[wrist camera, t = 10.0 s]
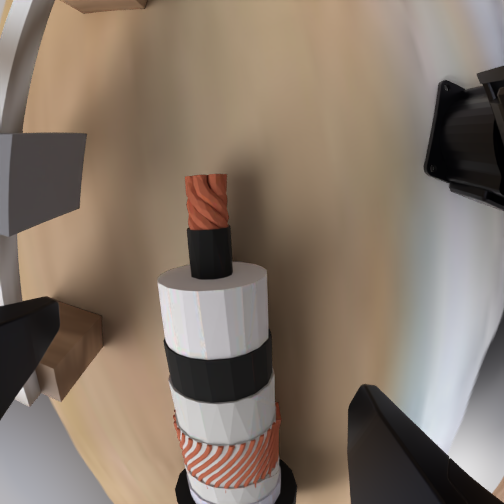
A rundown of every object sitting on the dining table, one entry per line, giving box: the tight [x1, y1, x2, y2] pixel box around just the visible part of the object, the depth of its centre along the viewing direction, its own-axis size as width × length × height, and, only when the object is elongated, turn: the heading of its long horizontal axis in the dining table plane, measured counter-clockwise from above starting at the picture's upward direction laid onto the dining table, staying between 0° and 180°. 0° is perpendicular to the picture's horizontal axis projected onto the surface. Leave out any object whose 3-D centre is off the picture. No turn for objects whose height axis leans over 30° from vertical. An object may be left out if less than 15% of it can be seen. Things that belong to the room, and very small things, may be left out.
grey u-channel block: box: [0, 131, 87, 237], centre depth 12 cm, size 4×6×6 cm, turn 79°
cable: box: [157, 174, 297, 504], centre depth 20 cm, size 10×34×10 cm, turn 3°
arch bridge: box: [0, 0, 147, 407], centre depth 15 cm, size 28×5×9 cm, turn 168°
